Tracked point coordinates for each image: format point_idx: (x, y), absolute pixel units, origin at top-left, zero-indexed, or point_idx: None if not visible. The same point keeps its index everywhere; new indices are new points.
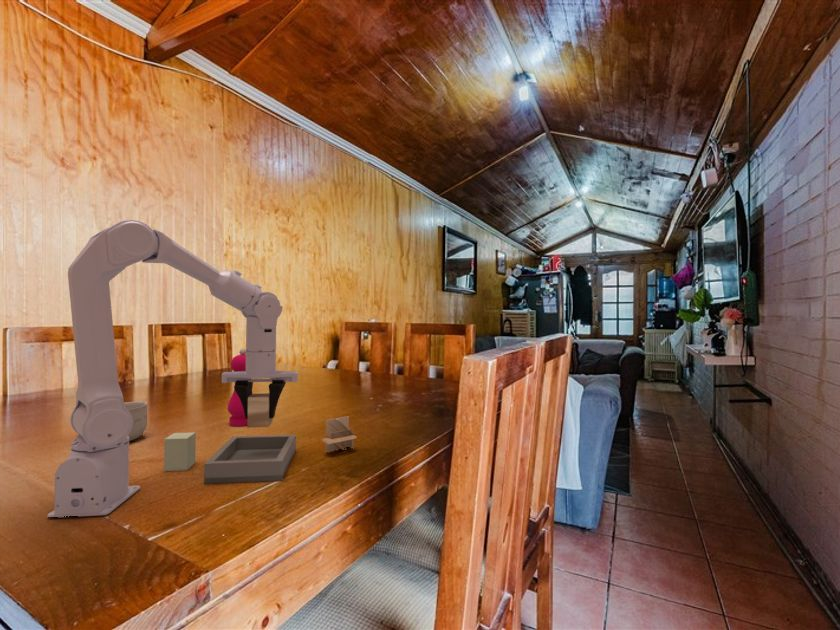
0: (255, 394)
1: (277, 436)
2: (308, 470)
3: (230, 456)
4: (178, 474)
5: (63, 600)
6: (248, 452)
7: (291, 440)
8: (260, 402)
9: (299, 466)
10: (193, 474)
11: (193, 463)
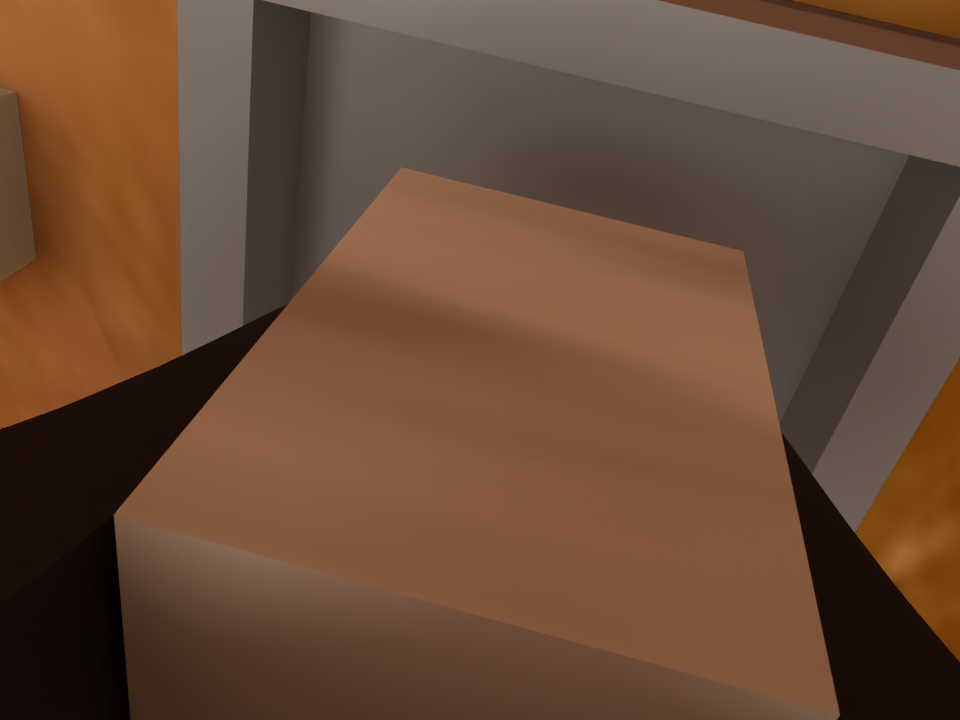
0: (239, 667)
1: (805, 115)
2: (930, 583)
3: (297, 204)
4: (20, 322)
5: None
6: (453, 128)
7: (939, 358)
8: None
9: (890, 492)
10: (121, 358)
11: (16, 133)
